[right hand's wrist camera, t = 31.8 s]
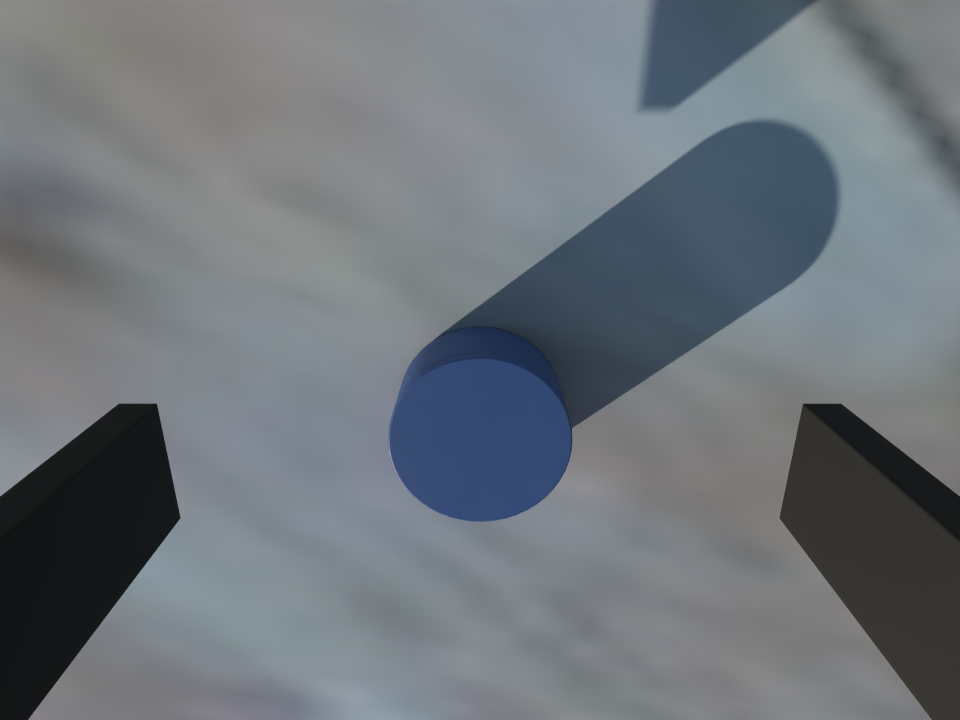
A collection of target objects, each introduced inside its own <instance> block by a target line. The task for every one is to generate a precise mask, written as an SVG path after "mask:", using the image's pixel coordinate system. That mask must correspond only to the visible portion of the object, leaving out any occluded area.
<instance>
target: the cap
mask: <svg viewBox="0 0 960 720" xmlns="http://www.w3.org/2000/svg"><path fill="white" fill-rule="evenodd" d="M388 443H389V452H390V457H391V460H392V463H393V466H394V469H395V471H396V473H397V475H398V477H399V478H400V480H401V481H402V483H403V484H404V486H405V487H406V488H407V489H408V490H409V492H410V493H411V494H412V495H413V496H414V497H416V498H417V499H418V500H419V501H420V502H422V503H423V504H425V505H426V506H428V507H429V508H431V509H433V510H435V511H437V512H439V513H441V514H443V515H446V516H449V517H452V518H456V519H460V520H467V521H495V520H500V519H505V518H508V517H511V516H515V515H517V514H520V513H522V512H524V511H526V510H528V509H530V508H531V507H533V506H535V505H536V504H538V503H539V502H540V501H541V500H543V499H544V498H545V497H546V496H547V495H548V494H549V493H550V492H551V491H552V490H553V489H554V488H555V486H556V485H557V484H558V482H559V481H560V479H561V477H562V476H563V474H564V472H565V470H566V467H567V465H568V462H569V459H570V455H571V450H572V428H571V424H570V419H569V416H568V413H567V409H566V406H565V403H564V400H563V396H562V393H561V390H560V387H559V383H558V380H557V378H556V375H555V372H554V370H553V369H552V367H551V365H550V363H549V362H548V361H547V359H546V358H545V356H544V355H543V354H542V353H541V352H540V351H539V350H538V349H537V348H536V347H535V346H533V345H532V344H531V343H529V342H528V341H527V340H525V339H523V338H521V337H520V336H518V335H515V334H513V333H511V332H508V331H504V330H501V329H496V328H489V327H473V328H464V329H460V330H456V331H453V332H450V333H448V334H445V335H443V336H441V337H439V338H437V339H435V340H434V341H433V342H431V343H430V344H428V345H427V346H426V347H425V348H424V349H423V350H422V351H421V352H419V354H418V355H417V356H416V357H415V358H414V360H413V361H412V363H411V364H410V366H409V368H408V369H407V372H406V374H405V376H404V379H403V382H402V385H401V389H400V392H399V395H398V398H397V401H396V405H395V408H394V411H393V414H392V418H391V422H390V425H389V434H388Z"/></svg>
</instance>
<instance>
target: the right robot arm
mask: <svg viewBox="0 0 960 720" xmlns="http://www.w3.org/2000/svg"><path fill="white" fill-rule="evenodd" d="M179 519H180V514H179V509H178V504H177V499H176V494H175V489H174V485H173V480H172V475H171V470H170V465H169V460H168V456H167V451H166V446H165V441H164V436H163V431H162V427H161V422H160V417H159V412H158V407H157V404H118V405H117V406H116V407H114V408H113V409H112V410H110V411H109V412H108V413H107V414H105V415H104V416H103V417H102V418H100V419H99V420H98V421H96V422H95V423H94V424H93V425H91V426H90V427H89V428H87V429H86V430H85V431H84V432H82V433H81V434H80V435H78V436H77V437H76V438H75V439H73V440H72V441H71V442H70V443H68V444H67V445H66V446H64V447H63V448H62V449H61V450H59V451H58V452H57V453H55V454H54V455H53V456H52V457H50V458H49V459H48V460H46V461H45V462H44V463H43V464H41V465H40V466H39V467H38V468H36V469H35V470H34V471H32V472H31V473H30V474H29V475H27V476H26V477H25V478H23V479H22V480H21V481H20V482H18V483H17V484H16V485H14V486H13V487H12V488H11V489H9V490H8V491H7V492H5V493H4V494H3V495H2V496H0V720H28V719H29V718H30V716H31V715H32V714H33V712H34V711H35V710H36V708H37V707H38V706H39V704H40V703H41V702H42V700H43V699H44V698H45V696H46V695H47V694H48V693H49V691H50V690H51V689H52V687H53V686H54V685H55V683H56V682H57V681H58V679H59V678H60V677H61V675H62V674H63V673H64V671H65V670H66V669H67V667H68V666H69V665H70V663H71V662H72V661H73V659H74V658H75V657H76V656H77V654H78V653H79V652H80V650H81V649H82V648H83V646H84V645H85V644H86V642H87V641H88V640H89V638H90V637H91V636H92V634H93V633H94V632H95V630H96V629H97V628H98V626H99V625H100V624H101V622H102V621H103V620H104V618H105V617H106V616H107V615H108V613H109V612H110V611H111V609H112V608H113V607H114V605H115V604H116V603H117V601H118V600H119V599H120V597H121V596H122V595H123V593H124V592H125V591H126V589H127V588H128V587H129V585H130V584H131V583H132V581H133V580H134V579H135V577H136V576H137V575H138V574H139V572H140V571H141V570H142V568H143V567H144V566H145V564H146V563H147V562H148V560H149V559H150V558H151V556H152V555H153V554H154V552H155V551H156V550H157V548H158V547H159V546H160V544H161V543H162V542H163V540H164V539H165V538H166V536H167V535H168V534H169V533H170V531H171V530H172V529H173V527H174V526H175V525H176V523H177V522H178V521H179ZM780 519H781V521H782V522H783V523H784V525H785V526H786V527H787V529H788V530H789V531H790V533H791V534H792V535H793V536H794V538H795V539H796V540H797V542H798V543H799V544H800V546H801V547H802V548H803V550H804V551H805V552H806V554H807V555H808V556H809V558H810V559H811V560H812V562H813V563H814V564H815V566H816V567H817V568H818V570H819V571H820V572H821V574H822V575H823V576H824V577H825V579H826V580H827V581H828V583H829V584H830V585H831V587H832V588H833V589H834V591H835V592H836V593H837V595H838V596H839V597H840V599H841V600H842V601H843V603H844V604H845V605H846V607H847V608H848V609H849V611H850V612H851V613H852V615H853V616H854V617H855V618H856V620H857V621H858V622H859V624H860V625H861V626H862V628H863V629H864V630H865V632H866V633H867V634H868V636H869V637H870V638H871V640H872V641H873V642H874V644H875V645H876V646H877V648H878V649H879V650H880V652H881V653H882V654H883V656H884V657H885V658H886V659H887V661H888V662H889V663H890V665H891V666H892V667H893V669H894V670H895V671H896V673H897V674H898V675H899V677H900V678H901V679H902V681H903V682H904V683H905V685H906V686H907V687H908V689H909V690H910V691H911V693H912V694H913V695H914V696H915V698H916V699H917V700H918V702H919V703H920V704H921V706H922V707H923V708H924V710H925V711H926V712H927V714H928V715H929V716H930V718H931V719H932V720H960V496H958V495H957V494H956V493H955V492H953V491H952V490H951V489H949V488H948V487H947V486H946V485H944V484H943V483H942V482H940V481H939V480H938V479H937V478H935V477H934V476H933V475H931V474H930V473H929V472H928V471H926V470H925V469H924V468H922V467H921V466H920V465H919V464H917V463H916V462H915V461H914V460H912V459H911V458H910V457H908V456H907V455H906V454H905V453H903V452H902V451H901V450H899V449H898V448H897V447H896V446H894V445H893V444H892V443H890V442H889V441H888V440H887V439H885V438H884V437H883V436H882V435H880V434H879V433H878V432H876V431H875V430H874V429H873V428H871V427H870V426H869V425H867V424H866V423H865V422H864V421H862V420H861V419H860V418H858V417H857V416H856V415H855V414H853V413H852V412H851V411H850V410H848V409H847V408H846V407H844V406H843V405H842V404H803V407H802V412H801V417H800V422H799V426H798V431H797V436H796V441H795V446H794V451H793V456H792V460H791V465H790V470H789V475H788V480H787V485H786V489H785V494H784V499H783V504H782V509H781V514H780Z"/></svg>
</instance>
